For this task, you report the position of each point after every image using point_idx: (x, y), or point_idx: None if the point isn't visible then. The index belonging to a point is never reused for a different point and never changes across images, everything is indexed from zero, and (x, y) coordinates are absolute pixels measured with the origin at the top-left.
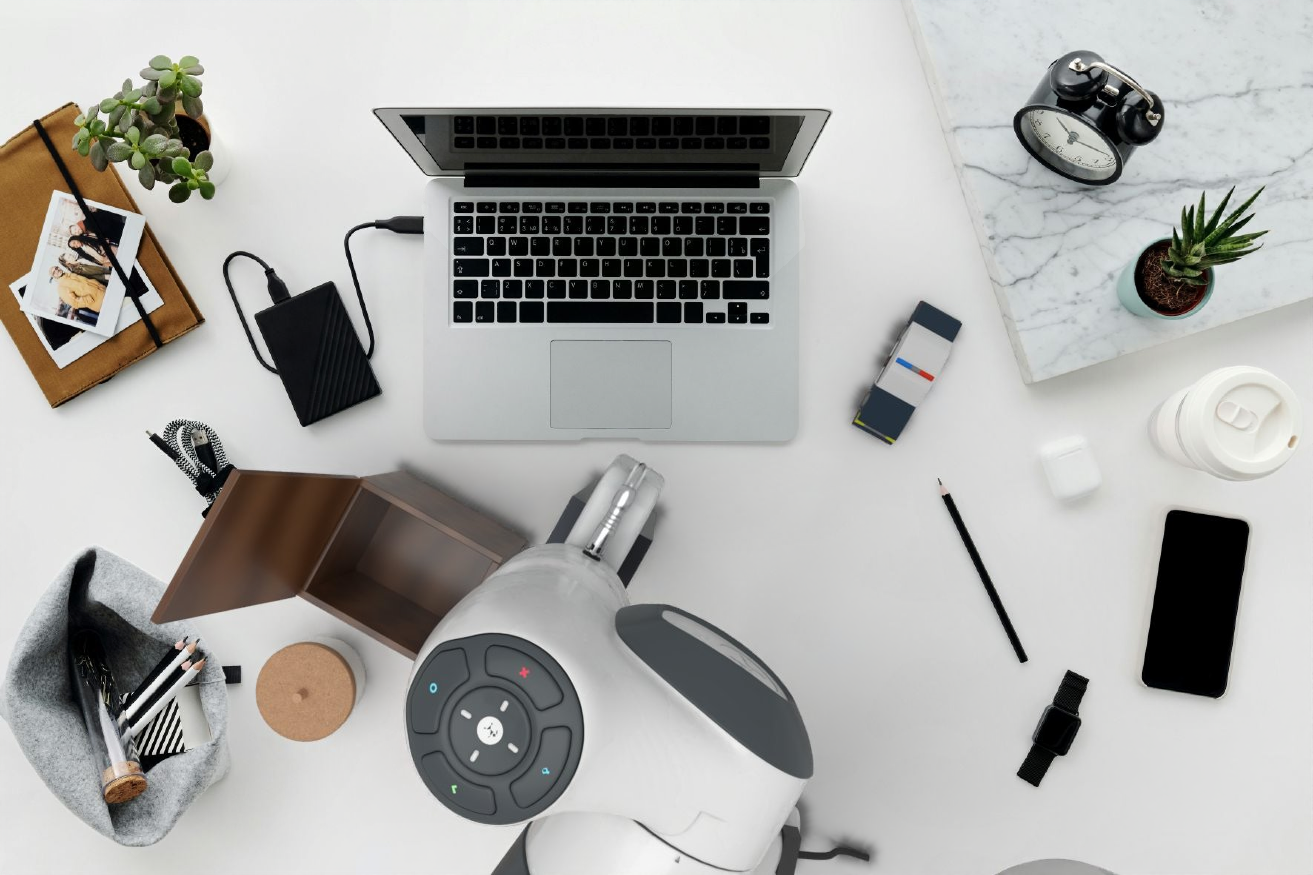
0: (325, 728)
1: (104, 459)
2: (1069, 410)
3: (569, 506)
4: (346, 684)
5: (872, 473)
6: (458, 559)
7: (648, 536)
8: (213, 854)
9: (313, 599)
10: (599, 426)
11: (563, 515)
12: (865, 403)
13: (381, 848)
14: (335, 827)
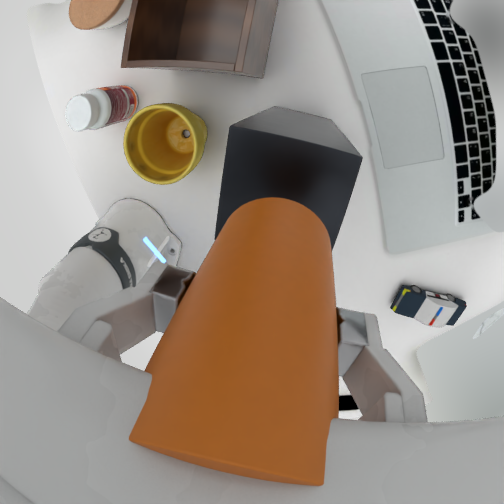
0: (78, 22)
1: None
2: (405, 362)
3: (347, 156)
4: (105, 14)
5: (371, 298)
6: (226, 35)
7: None
8: (31, 23)
9: None
10: (373, 112)
11: (332, 150)
12: (415, 292)
13: (52, 91)
14: (52, 62)
